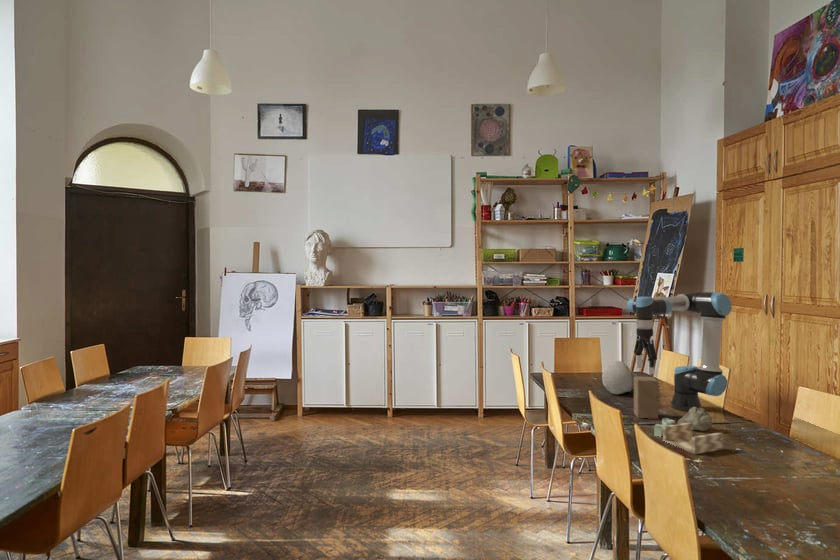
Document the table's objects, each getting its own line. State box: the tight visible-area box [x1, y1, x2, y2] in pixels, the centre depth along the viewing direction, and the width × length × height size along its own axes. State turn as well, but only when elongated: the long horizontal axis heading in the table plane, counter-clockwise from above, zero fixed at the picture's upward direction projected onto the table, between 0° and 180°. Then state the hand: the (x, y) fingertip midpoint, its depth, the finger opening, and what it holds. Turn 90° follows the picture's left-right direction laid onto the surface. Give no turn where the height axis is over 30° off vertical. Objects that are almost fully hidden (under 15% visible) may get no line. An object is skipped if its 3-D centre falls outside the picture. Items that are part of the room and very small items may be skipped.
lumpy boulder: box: [677, 407, 714, 432], centre depth 247 cm, size 11×11×15 cm
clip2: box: [653, 423, 666, 438], centre depth 237 cm, size 3×5×5 cm, turn 49°
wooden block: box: [633, 375, 659, 420], centre depth 269 cm, size 10×10×20 cm
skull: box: [601, 360, 633, 395], centre depth 321 cm, size 17×27×20 cm, turn 148°
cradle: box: [662, 422, 724, 455], centre depth 225 cm, size 16×17×7 cm
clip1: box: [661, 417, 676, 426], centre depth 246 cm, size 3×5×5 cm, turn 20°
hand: (645, 371), depth 252 cm, fingers open, 13 cm apart
